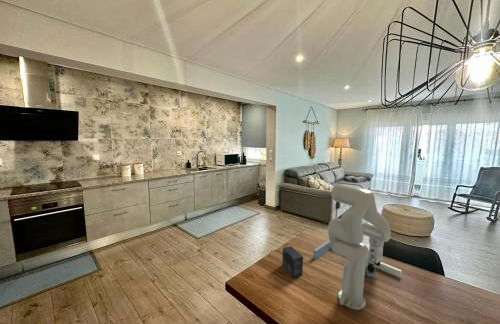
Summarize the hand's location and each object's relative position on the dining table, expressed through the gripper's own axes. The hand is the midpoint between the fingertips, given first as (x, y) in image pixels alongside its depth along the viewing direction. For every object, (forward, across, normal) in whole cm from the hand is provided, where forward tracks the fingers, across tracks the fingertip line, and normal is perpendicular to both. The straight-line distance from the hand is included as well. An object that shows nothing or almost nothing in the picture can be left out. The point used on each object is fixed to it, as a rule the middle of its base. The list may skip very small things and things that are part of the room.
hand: (373, 268), depth 125 cm
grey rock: (+6, +1, +4) cm, 7 cm away
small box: (+6, -32, +36) cm, 48 cm away
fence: (+5, +1, +11) cm, 13 cm away
